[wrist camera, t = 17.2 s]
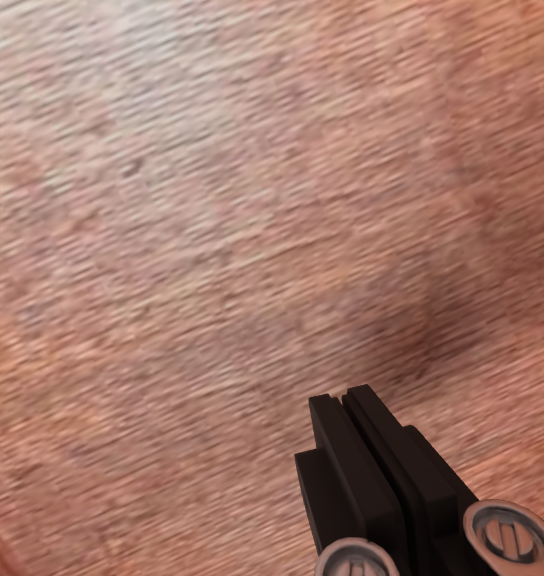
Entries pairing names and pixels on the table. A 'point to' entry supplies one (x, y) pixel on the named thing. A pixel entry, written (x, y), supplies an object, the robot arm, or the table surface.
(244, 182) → the table surface
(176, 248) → the table surface
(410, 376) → the table surface
